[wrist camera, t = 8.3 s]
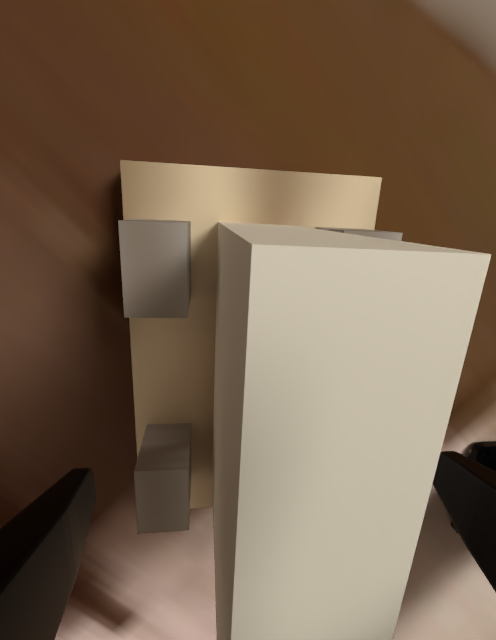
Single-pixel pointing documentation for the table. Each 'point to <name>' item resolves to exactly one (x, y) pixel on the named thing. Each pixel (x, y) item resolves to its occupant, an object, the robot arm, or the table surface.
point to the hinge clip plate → (200, 304)
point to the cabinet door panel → (329, 422)
